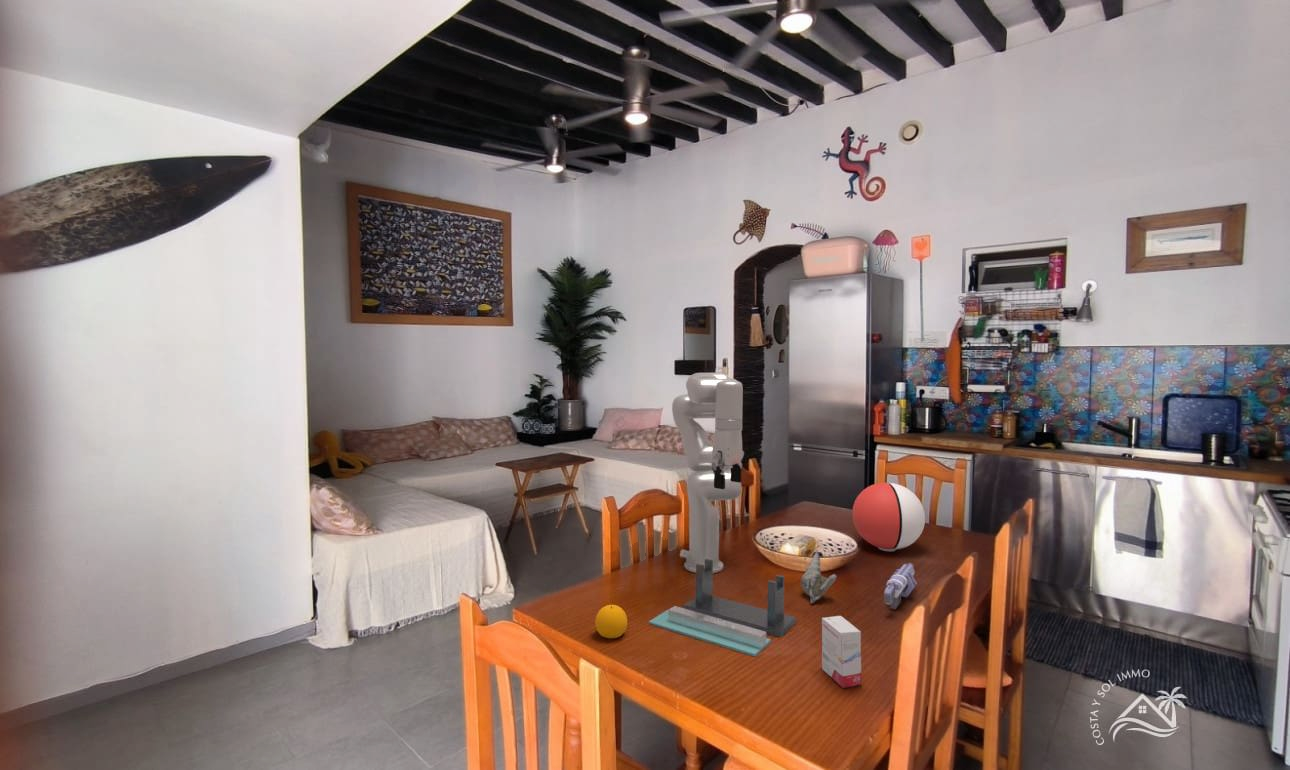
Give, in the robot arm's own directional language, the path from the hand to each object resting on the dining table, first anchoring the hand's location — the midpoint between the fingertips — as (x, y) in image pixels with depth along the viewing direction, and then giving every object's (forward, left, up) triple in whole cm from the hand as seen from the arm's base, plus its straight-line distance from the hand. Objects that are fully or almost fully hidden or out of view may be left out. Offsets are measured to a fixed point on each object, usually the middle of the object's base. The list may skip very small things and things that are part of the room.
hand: (727, 485), depth 176 cm
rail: (+8, -22, -32) cm, 40 cm away
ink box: (+40, -24, -33) cm, 57 cm away
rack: (+8, -9, -33) cm, 35 cm away
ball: (+26, +72, -33) cm, 84 cm away
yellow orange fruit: (-13, -37, -33) cm, 51 cm away
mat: (+6, -22, -33) cm, 40 cm away
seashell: (+21, +18, -33) cm, 43 cm away
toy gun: (+41, +27, -33) cm, 59 cm away
